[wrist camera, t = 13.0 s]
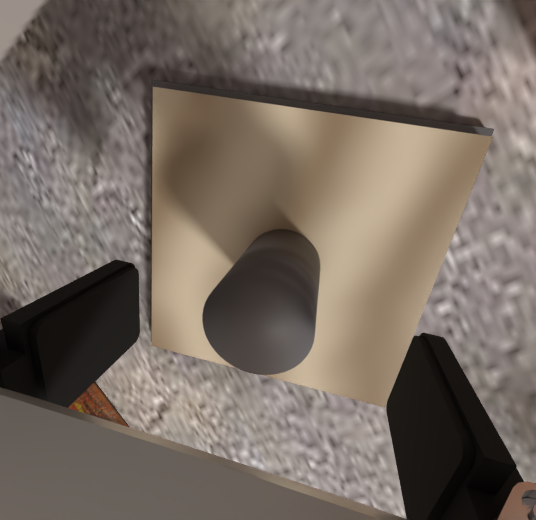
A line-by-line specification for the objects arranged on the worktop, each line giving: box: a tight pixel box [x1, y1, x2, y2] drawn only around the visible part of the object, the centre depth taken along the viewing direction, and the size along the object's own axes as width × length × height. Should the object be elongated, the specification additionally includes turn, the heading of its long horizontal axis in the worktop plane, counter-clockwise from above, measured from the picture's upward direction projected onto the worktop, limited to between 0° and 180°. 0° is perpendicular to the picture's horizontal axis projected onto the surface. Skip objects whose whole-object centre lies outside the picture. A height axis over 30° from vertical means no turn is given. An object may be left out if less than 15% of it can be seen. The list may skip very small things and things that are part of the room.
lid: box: [152, 87, 493, 407], centre depth 14 cm, size 15×15×7 cm
